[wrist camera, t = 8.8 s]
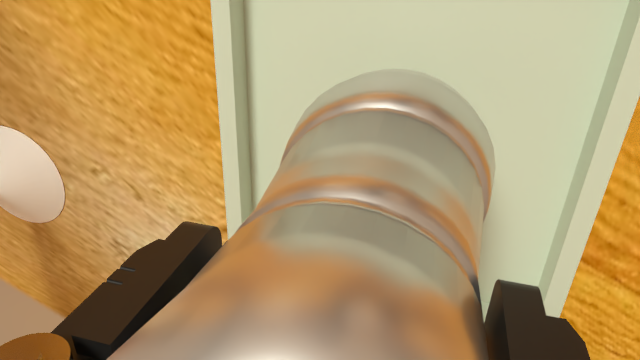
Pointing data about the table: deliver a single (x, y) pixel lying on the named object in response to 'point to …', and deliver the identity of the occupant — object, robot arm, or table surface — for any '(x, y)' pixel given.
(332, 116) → the silver metal bottle
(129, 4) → the table surface
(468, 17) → the tray
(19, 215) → the champagne flute
